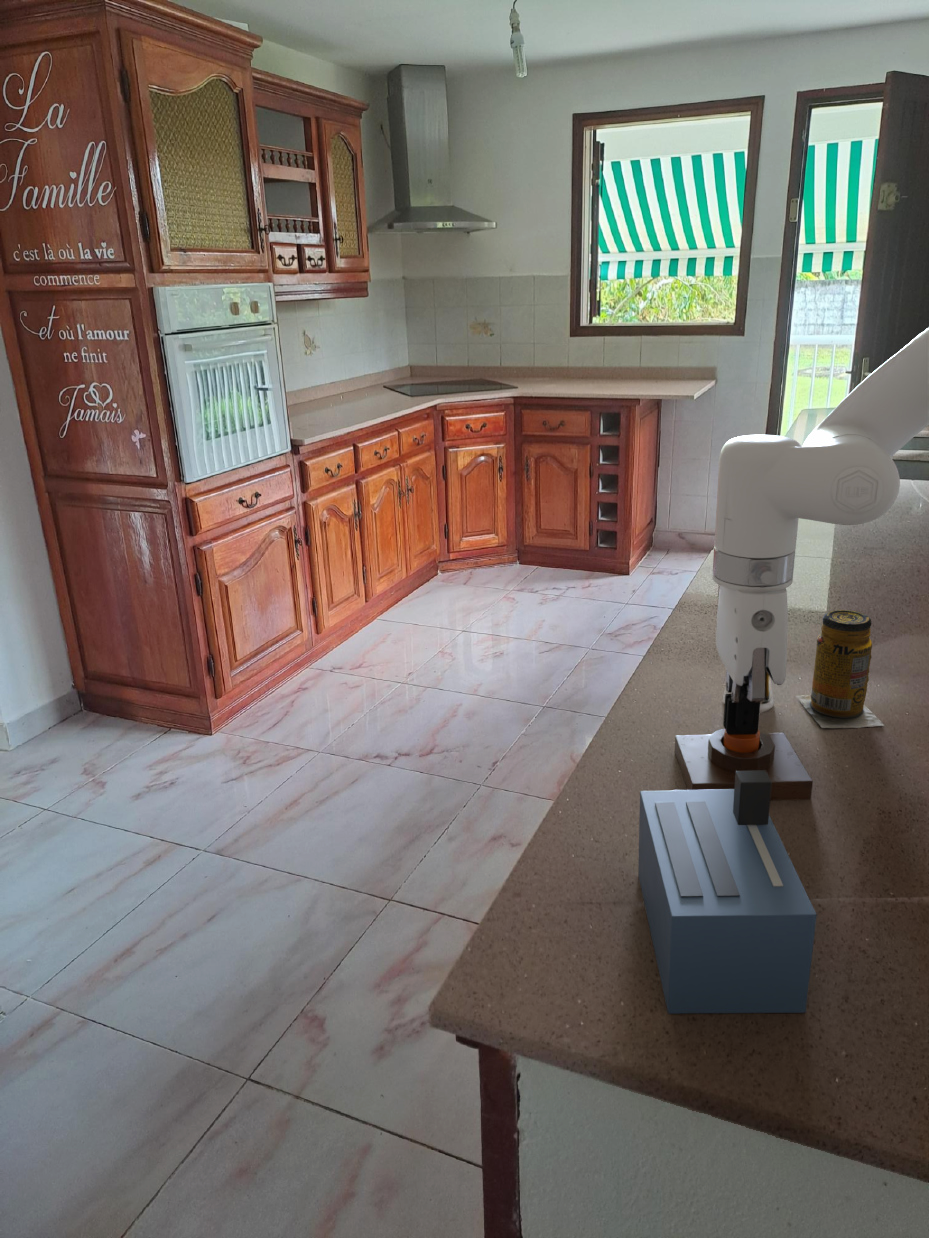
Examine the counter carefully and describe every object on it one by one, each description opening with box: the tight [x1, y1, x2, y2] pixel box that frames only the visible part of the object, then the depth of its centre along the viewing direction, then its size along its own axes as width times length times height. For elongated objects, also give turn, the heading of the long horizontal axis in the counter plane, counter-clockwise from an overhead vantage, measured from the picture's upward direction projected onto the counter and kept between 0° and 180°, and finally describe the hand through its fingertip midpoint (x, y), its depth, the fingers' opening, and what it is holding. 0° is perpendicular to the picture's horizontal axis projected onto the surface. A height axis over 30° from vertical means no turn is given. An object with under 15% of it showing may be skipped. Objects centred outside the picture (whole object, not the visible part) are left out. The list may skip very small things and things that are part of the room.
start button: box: [723, 728, 761, 753], centre depth 93 cm, size 4×4×2 cm
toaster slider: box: [733, 770, 772, 825], centre depth 71 cm, size 2×2×4 cm
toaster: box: [637, 789, 818, 1015], centre depth 71 cm, size 10×16×9 cm, turn 177°
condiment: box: [795, 609, 885, 729], centre depth 104 cm, size 7×8×12 cm
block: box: [674, 727, 813, 801], centre depth 94 cm, size 12×10×4 cm
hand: (740, 730), depth 92 cm, fingers closed
